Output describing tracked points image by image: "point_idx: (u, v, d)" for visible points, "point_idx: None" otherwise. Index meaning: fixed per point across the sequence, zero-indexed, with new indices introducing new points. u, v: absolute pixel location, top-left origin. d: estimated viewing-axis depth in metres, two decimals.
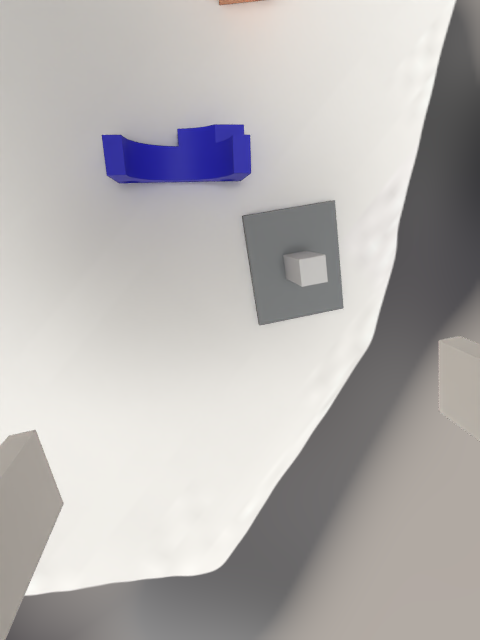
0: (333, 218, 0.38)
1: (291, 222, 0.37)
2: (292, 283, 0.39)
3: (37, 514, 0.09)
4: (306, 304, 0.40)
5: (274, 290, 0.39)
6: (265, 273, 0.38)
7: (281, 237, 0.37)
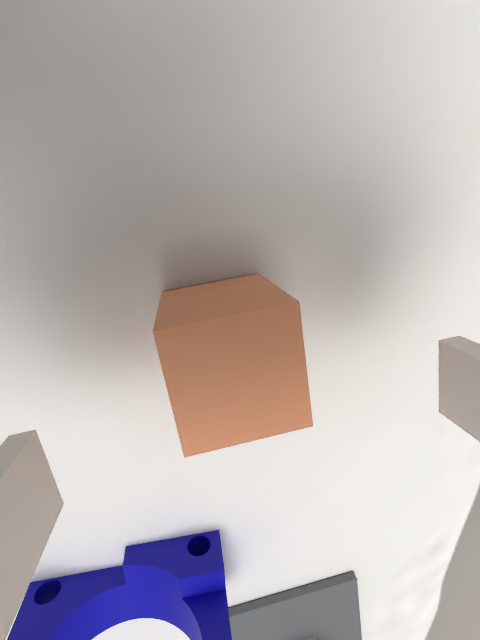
0: (354, 597, 0.26)
1: (294, 612, 0.26)
2: None
3: (37, 514, 0.09)
4: None
5: None
6: None
7: (279, 630, 0.26)
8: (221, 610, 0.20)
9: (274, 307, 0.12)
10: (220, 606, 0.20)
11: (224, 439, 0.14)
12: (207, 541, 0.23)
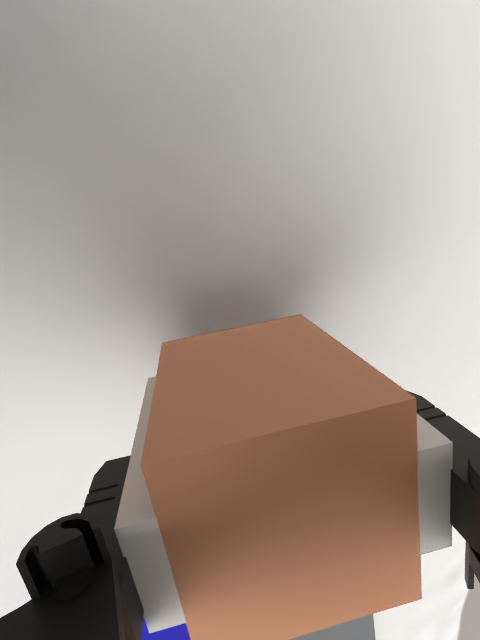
0: (369, 626, 0.26)
1: None
2: None
3: None
4: None
5: None
6: None
7: None
8: None
9: (371, 410, 0.07)
10: None
11: (270, 632, 0.08)
12: None
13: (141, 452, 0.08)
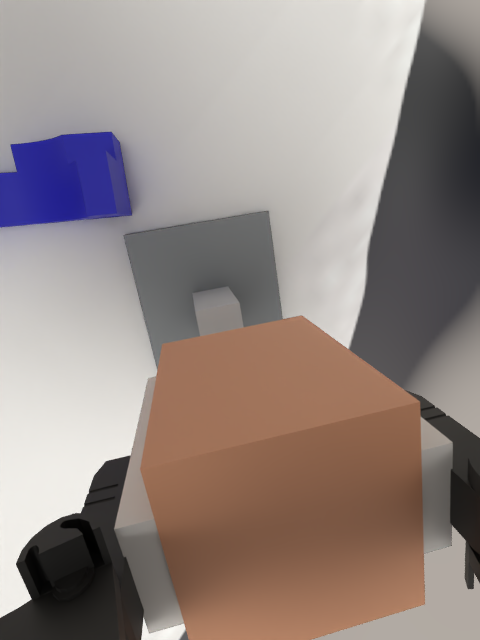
0: (267, 238, 0.25)
1: (202, 244, 0.24)
2: None
3: None
4: None
5: None
6: (166, 320, 0.25)
7: (187, 267, 0.25)
8: None
9: (374, 413, 0.06)
10: None
11: (272, 638, 0.07)
12: None
13: (141, 452, 0.08)
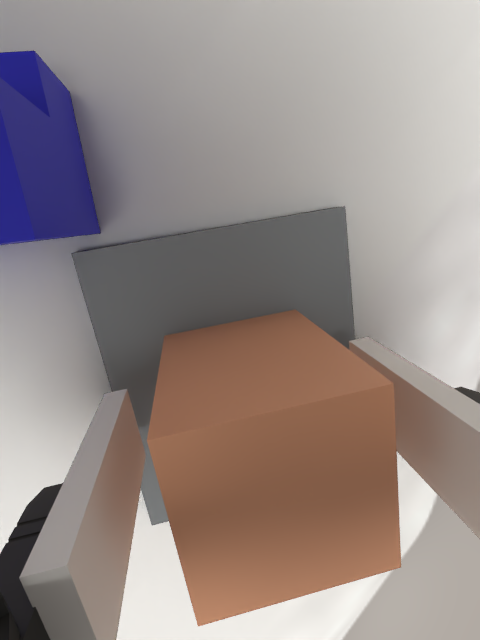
0: (340, 257, 0.14)
1: (221, 269, 0.13)
2: None
3: (134, 457, 0.11)
4: None
5: None
6: None
7: (193, 310, 0.13)
8: None
9: (353, 393, 0.07)
10: None
11: (263, 595, 0.08)
12: None
13: (74, 481, 0.08)
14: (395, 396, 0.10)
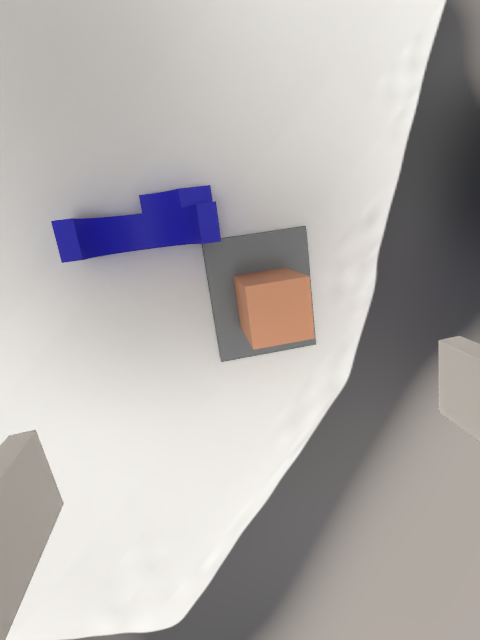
0: (304, 246, 0.34)
1: (257, 249, 0.33)
2: None
3: (37, 514, 0.09)
4: None
5: (237, 324, 0.35)
6: (227, 305, 0.34)
7: (245, 265, 0.33)
8: None
9: (298, 278, 0.28)
10: None
11: (272, 341, 0.28)
12: None
13: None
14: None
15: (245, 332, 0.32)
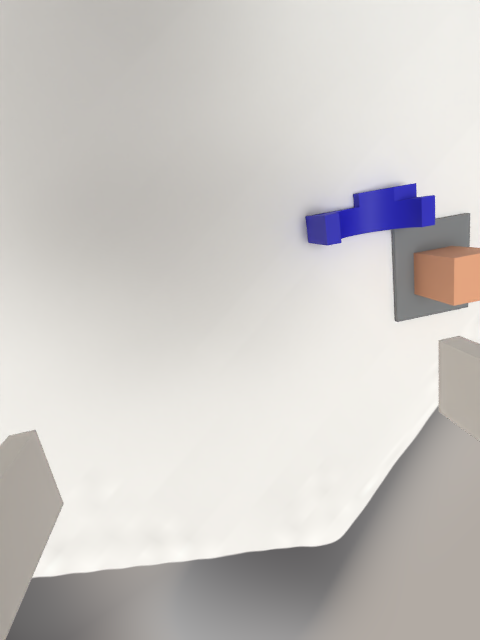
0: (467, 229, 0.43)
1: (433, 232, 0.43)
2: None
3: (37, 514, 0.09)
4: (437, 303, 0.46)
5: (412, 291, 0.45)
6: (407, 276, 0.44)
7: (423, 245, 0.43)
8: (419, 197, 0.38)
9: None
10: (418, 197, 0.38)
11: (467, 299, 0.38)
12: None
13: None
14: None
15: (432, 295, 0.41)
